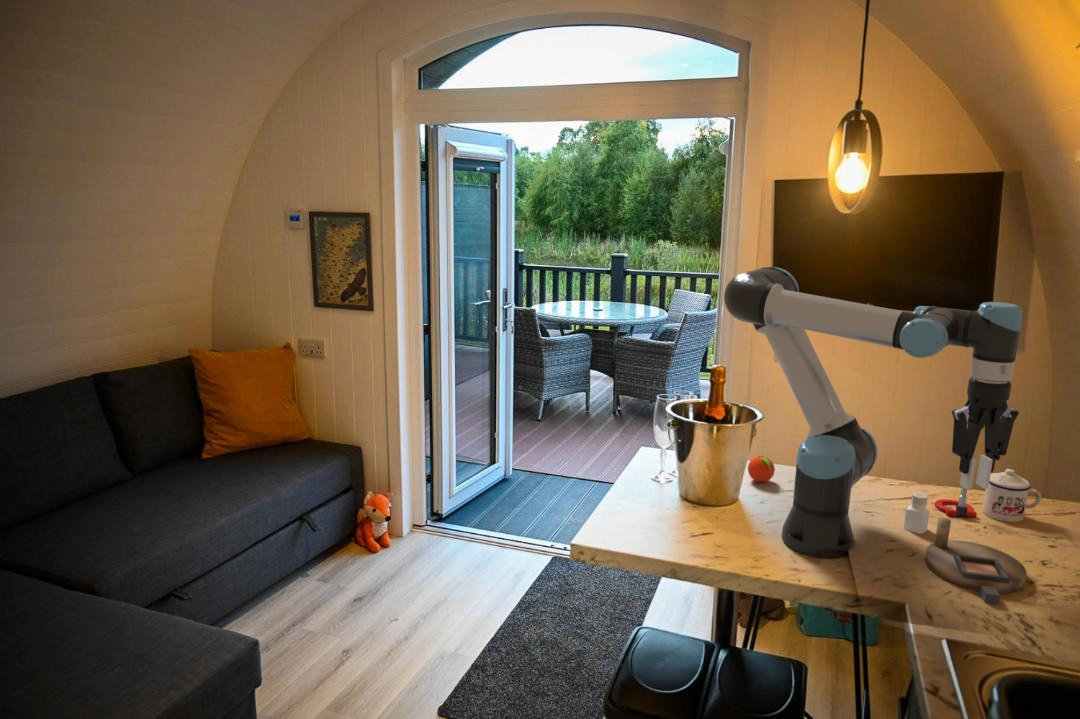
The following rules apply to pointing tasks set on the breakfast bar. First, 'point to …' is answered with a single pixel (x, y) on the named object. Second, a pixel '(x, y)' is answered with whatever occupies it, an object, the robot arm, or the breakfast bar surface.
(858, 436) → the robot arm
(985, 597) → the charcoal grey block
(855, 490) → the breakfast bar surface
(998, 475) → the teacup with lid
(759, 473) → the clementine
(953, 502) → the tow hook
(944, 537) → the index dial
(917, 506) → the pepper shaker
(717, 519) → the breakfast bar surface
